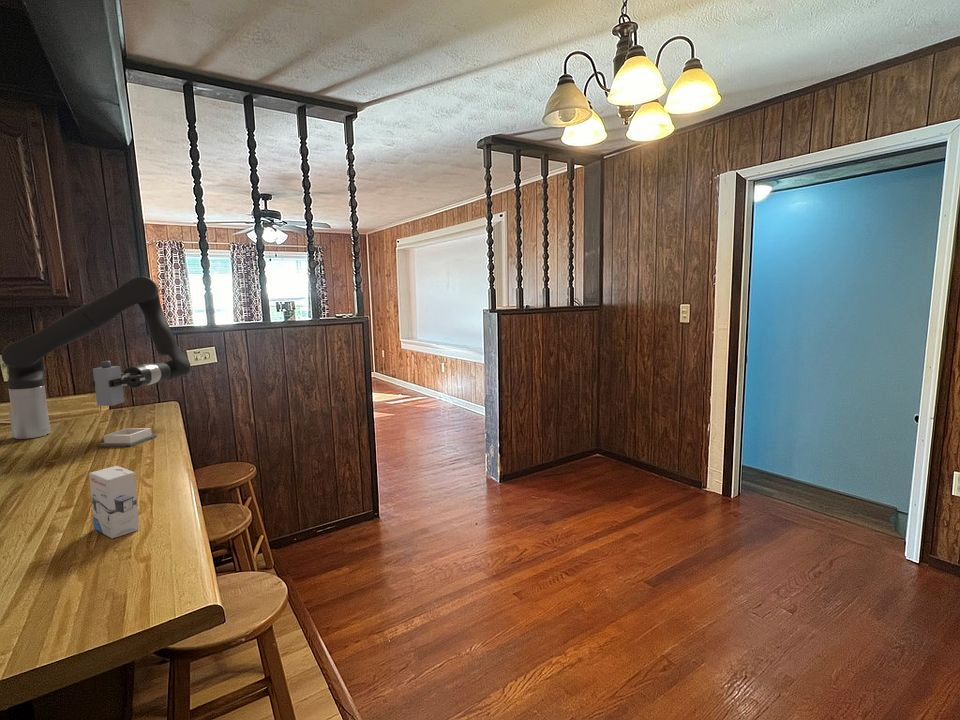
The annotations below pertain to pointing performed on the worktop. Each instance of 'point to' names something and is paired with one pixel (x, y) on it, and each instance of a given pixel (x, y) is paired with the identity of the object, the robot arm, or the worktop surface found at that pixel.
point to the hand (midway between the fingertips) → (101, 384)
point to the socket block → (127, 437)
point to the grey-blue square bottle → (107, 385)
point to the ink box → (114, 501)
